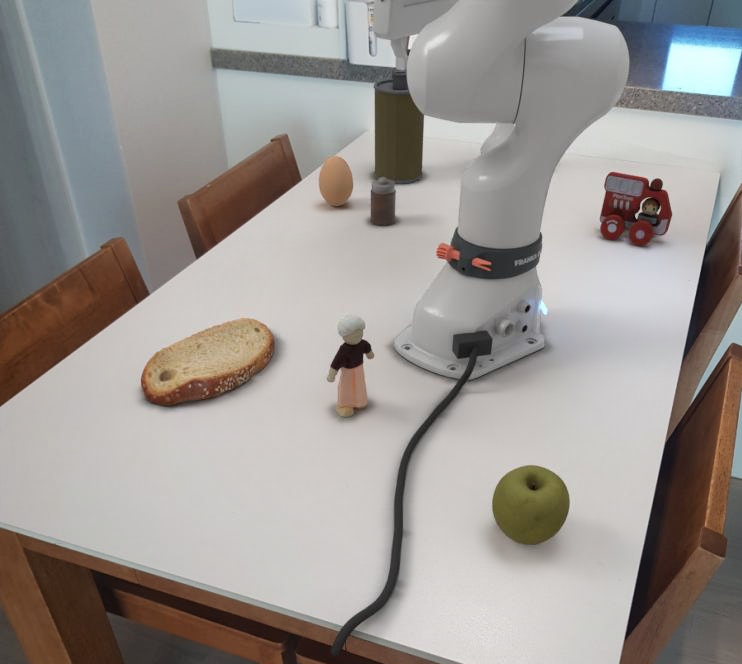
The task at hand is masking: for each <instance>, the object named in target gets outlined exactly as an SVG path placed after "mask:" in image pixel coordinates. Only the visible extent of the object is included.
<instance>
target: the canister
mask: <svg viewBox="0 0 742 664" xmlns="http://www.w3.org/2000/svg"><path fill="white" fill-rule="evenodd" d="M391 74H392V75H391V78H385V79H381V80H378V81H376V82H374V84H373V89H374V171H373V177H374V178H375V180H377V179H379V178H381V177H386V178H387V179H389V180H392V181H394V182H395V185H404V184H411V183H414V182H418V181H420V180H421V179H422V178H423V176H424V173H423V156H424V155H423V153H424V131H425V130H424V129H425V128H424V127H425V115H423V114H422V113H421V111H420V110H419V109H418V108H417V106H416V105H415V103H414V101H413V99H412V97H411V94H410V91H409V88H408V83H407V69H405V70H398V69H397V68H396V67H392V70H391Z"/></svg>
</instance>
